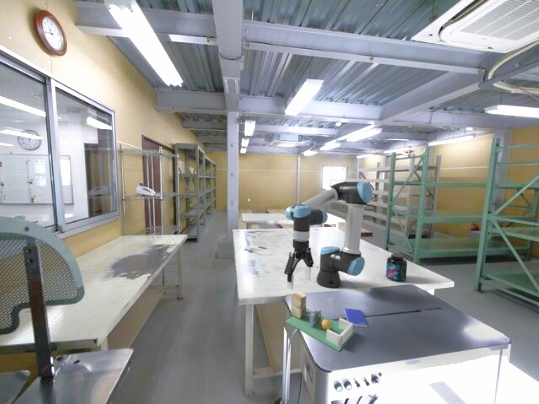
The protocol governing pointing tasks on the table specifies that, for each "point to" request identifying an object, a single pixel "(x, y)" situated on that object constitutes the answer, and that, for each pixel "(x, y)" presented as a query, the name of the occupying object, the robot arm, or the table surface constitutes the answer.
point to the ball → (325, 324)
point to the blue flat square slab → (355, 317)
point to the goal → (344, 335)
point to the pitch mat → (317, 329)
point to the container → (396, 268)
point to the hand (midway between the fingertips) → (299, 284)
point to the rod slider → (303, 308)
